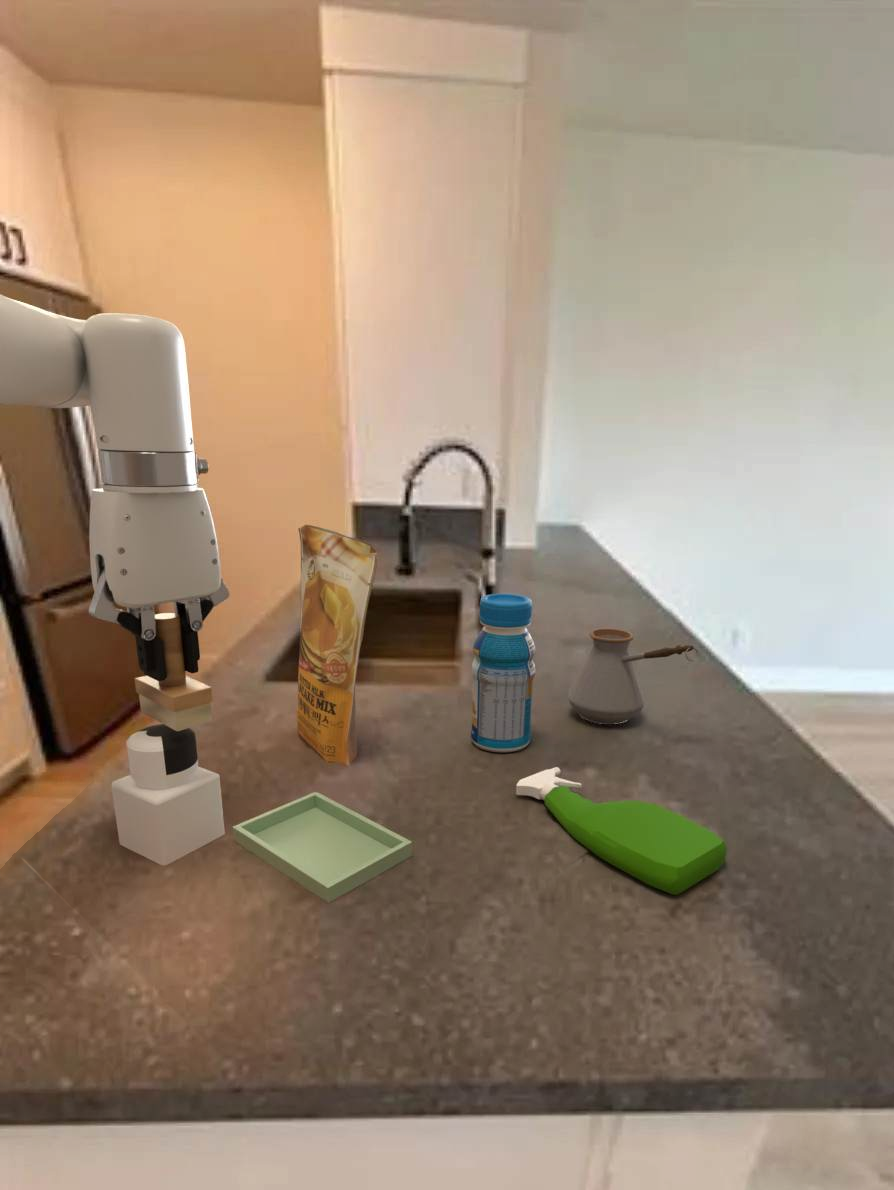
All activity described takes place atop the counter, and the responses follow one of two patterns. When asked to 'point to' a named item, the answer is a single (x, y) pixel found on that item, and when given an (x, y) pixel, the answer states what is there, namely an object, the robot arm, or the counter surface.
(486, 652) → the beverage bottle
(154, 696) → the brush
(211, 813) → the medicine bottle
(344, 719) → the pancake mix bag
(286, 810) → the tray
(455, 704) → the counter surface
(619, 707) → the coffee pot
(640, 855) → the spray bottle
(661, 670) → the counter surface
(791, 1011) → the counter surface
